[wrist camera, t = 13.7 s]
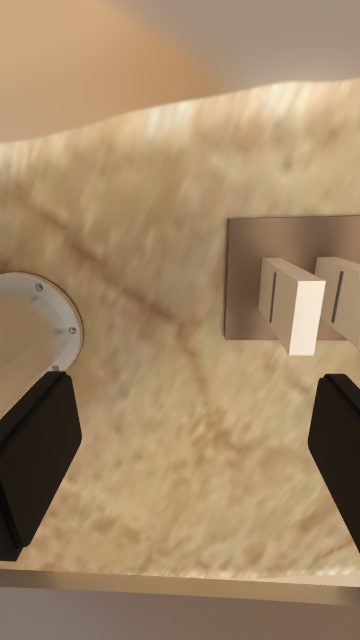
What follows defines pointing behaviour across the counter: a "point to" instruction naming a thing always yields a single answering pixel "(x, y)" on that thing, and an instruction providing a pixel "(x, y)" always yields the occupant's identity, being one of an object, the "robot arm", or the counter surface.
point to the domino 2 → (341, 296)
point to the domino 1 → (291, 304)
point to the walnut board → (289, 244)
